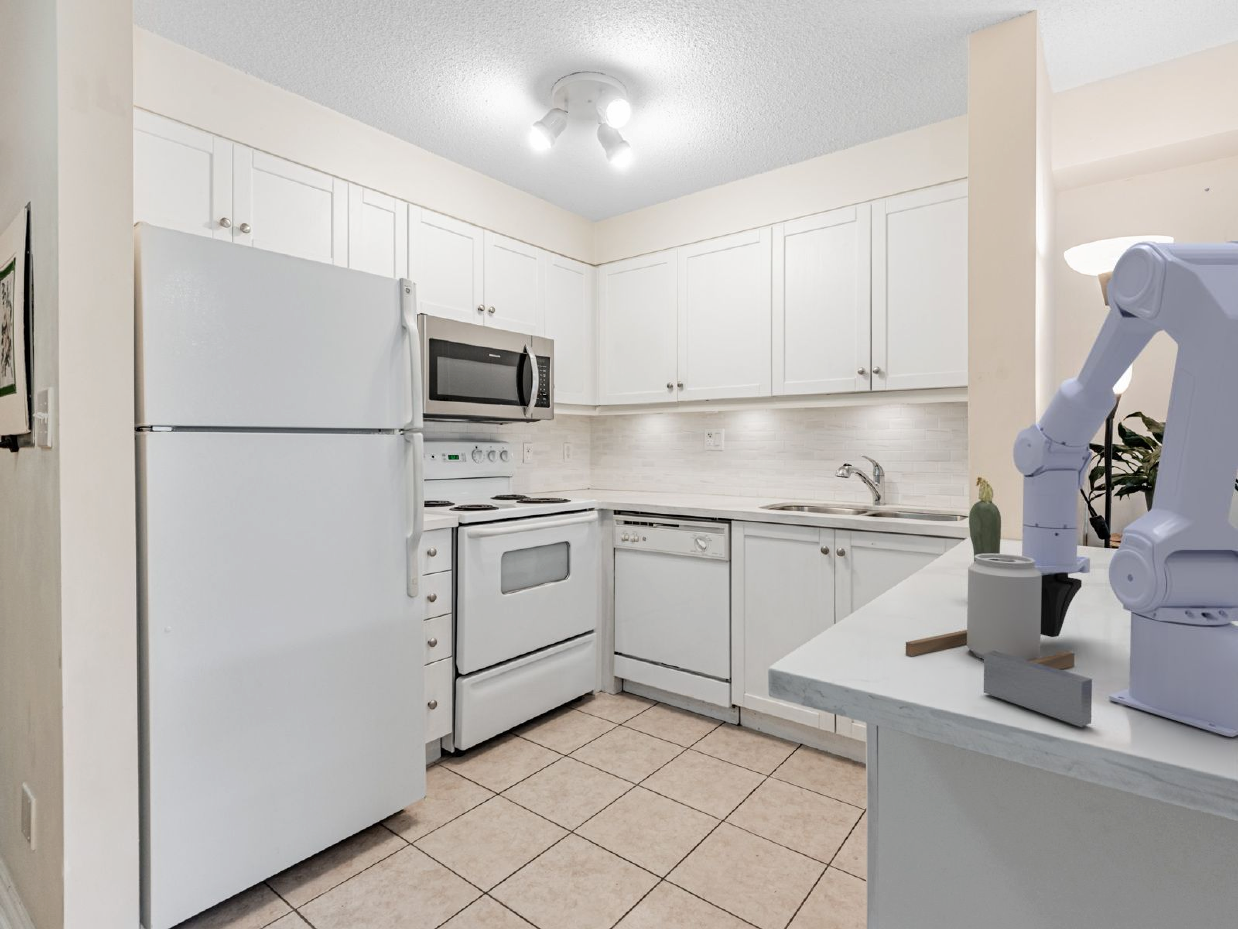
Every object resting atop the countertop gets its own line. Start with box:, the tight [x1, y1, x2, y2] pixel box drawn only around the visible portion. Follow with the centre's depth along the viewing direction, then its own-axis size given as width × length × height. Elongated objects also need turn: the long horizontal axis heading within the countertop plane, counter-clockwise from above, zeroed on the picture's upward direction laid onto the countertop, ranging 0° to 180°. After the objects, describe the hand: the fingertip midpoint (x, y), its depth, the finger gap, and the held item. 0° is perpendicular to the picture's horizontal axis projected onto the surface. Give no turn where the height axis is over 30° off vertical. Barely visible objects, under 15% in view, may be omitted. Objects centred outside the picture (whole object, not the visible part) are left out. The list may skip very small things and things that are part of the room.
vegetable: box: [968, 476, 1002, 563], centre depth 102 cm, size 4×4×20 cm
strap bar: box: [983, 651, 1093, 728], centre depth 62 cm, size 9×2×4 cm, turn 27°
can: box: [966, 553, 1042, 661], centre depth 77 cm, size 8×8×12 cm
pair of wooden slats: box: [905, 629, 1076, 670], centre depth 76 cm, size 12×14×2 cm
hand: (1047, 634), depth 82 cm, fingers closed
